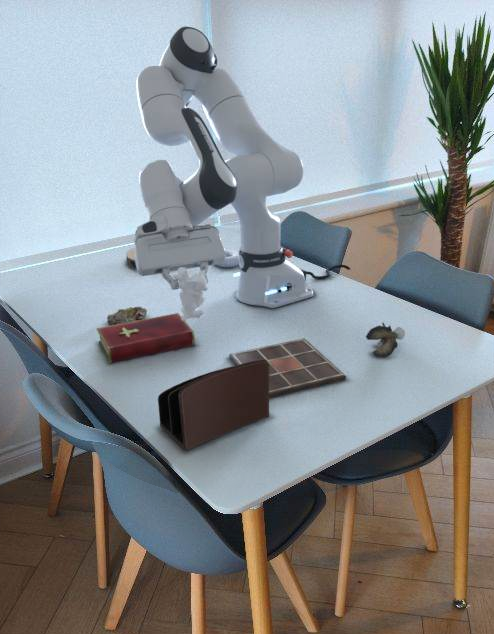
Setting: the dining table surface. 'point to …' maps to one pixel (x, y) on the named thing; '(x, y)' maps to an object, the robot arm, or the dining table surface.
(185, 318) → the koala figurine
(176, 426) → the letter holder
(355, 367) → the dining table surface
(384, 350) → the eagle figurine
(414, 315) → the dining table surface
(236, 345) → the dining table surface
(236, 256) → the donut
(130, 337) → the hardcover book
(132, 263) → the tambourine
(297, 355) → the board
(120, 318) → the mineral rock
